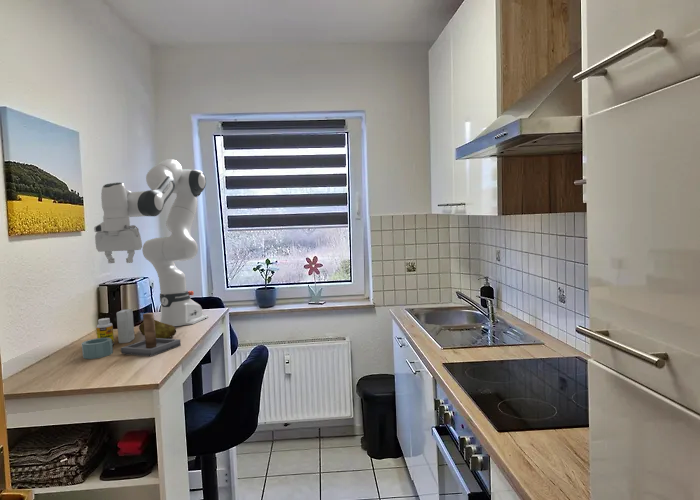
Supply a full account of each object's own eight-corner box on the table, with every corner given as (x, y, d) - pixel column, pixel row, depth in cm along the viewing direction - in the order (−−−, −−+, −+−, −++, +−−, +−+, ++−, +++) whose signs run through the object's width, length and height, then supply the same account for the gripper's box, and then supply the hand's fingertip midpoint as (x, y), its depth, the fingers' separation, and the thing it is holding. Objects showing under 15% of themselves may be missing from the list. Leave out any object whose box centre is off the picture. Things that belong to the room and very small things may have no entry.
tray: (152, 343, 186) (151, 337, 186) (180, 345, 180) (180, 339, 180) (121, 353, 173) (120, 347, 173) (151, 356, 168) (150, 349, 168)
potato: (172, 340, 189) (170, 319, 189) (137, 343, 188) (136, 322, 188) (178, 335, 198) (176, 315, 197) (145, 337, 197) (143, 318, 196)
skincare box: (123, 339, 196) (121, 309, 195) (135, 338, 196) (132, 308, 195) (118, 343, 189) (115, 312, 189) (130, 342, 190) (127, 311, 189)
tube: (100, 350, 180) (98, 337, 180) (118, 352, 176) (117, 338, 176) (77, 357, 172) (75, 343, 171) (95, 359, 168) (94, 345, 167)
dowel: (151, 345, 179) (148, 312, 178) (158, 345, 178) (155, 312, 177) (143, 347, 176) (140, 314, 175) (151, 348, 174) (148, 315, 174)
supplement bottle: (99, 348, 184) (96, 321, 183) (97, 345, 188) (94, 319, 188) (115, 345, 187) (112, 318, 186) (113, 342, 191) (110, 316, 191)
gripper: (144, 224, 183) (147, 261, 183) (105, 227, 191) (108, 262, 192) (130, 225, 177) (134, 263, 178) (90, 227, 185) (94, 264, 186)
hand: (120, 263), depth 185 cm, fingers open, 8 cm apart
